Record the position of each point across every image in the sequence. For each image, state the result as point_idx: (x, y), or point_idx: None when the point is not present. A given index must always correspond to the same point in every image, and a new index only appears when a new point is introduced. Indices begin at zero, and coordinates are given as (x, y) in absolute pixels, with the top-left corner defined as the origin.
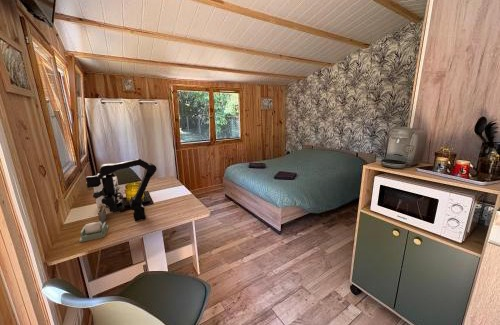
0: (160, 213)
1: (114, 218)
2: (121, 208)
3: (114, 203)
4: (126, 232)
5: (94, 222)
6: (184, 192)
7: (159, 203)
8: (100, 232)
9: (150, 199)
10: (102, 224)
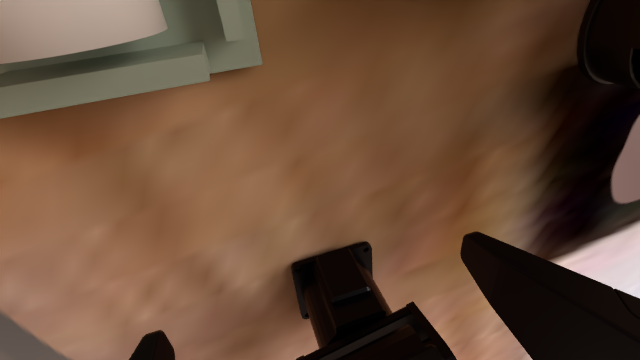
0: None
1: (435, 59)
2: (602, 75)
3: (485, 285)
4: (88, 277)
5: None
6: None
7: None
8: None
9: (615, 227)
10: (231, 5)
